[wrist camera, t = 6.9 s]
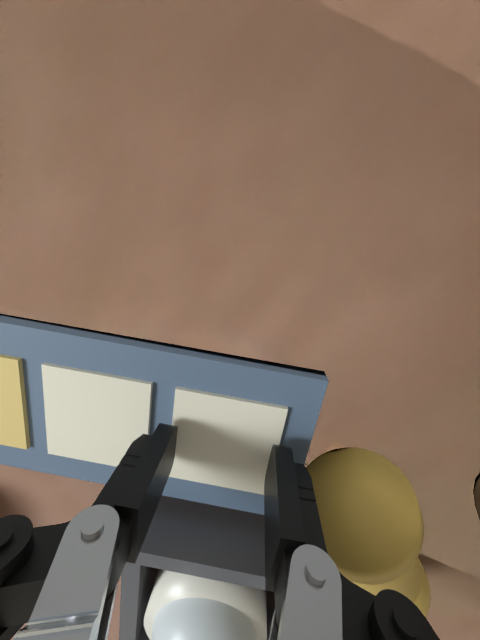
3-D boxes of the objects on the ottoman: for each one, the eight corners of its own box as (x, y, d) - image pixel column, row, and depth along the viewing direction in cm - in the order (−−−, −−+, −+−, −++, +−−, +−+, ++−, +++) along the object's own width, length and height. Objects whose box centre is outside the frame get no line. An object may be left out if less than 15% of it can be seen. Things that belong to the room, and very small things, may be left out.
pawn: (329, 433, 13) (366, 521, 15) (273, 515, 11) (327, 603, 13) (437, 477, 10) (463, 583, 12) (387, 612, 7) (432, 708, 10)
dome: (275, 534, 14) (282, 682, 9) (256, 602, 15) (254, 756, 11) (168, 514, 14) (123, 648, 9) (161, 583, 16) (119, 727, 11)
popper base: (302, 518, 14) (312, 586, 11) (272, 614, 16) (274, 689, 13) (149, 488, 14) (122, 548, 11) (141, 588, 16) (118, 657, 14)
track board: (323, 371, 11) (329, 383, 10) (286, 503, 13) (288, 523, 12) (-218, 274, 12) (-260, 277, 11) (-167, 416, 14) (-198, 429, 13)
